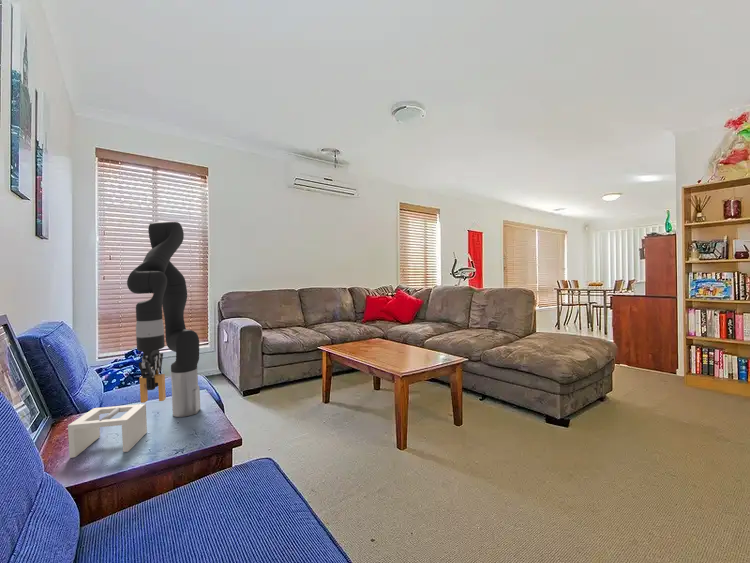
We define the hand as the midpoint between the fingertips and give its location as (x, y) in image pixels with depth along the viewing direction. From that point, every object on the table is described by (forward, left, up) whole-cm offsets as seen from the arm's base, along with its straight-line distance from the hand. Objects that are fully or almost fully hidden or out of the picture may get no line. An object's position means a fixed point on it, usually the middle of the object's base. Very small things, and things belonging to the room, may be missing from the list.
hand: (152, 387), depth 115 cm
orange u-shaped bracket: (0, 0, -4) cm, 4 cm away
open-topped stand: (+15, -5, -19) cm, 25 cm away
